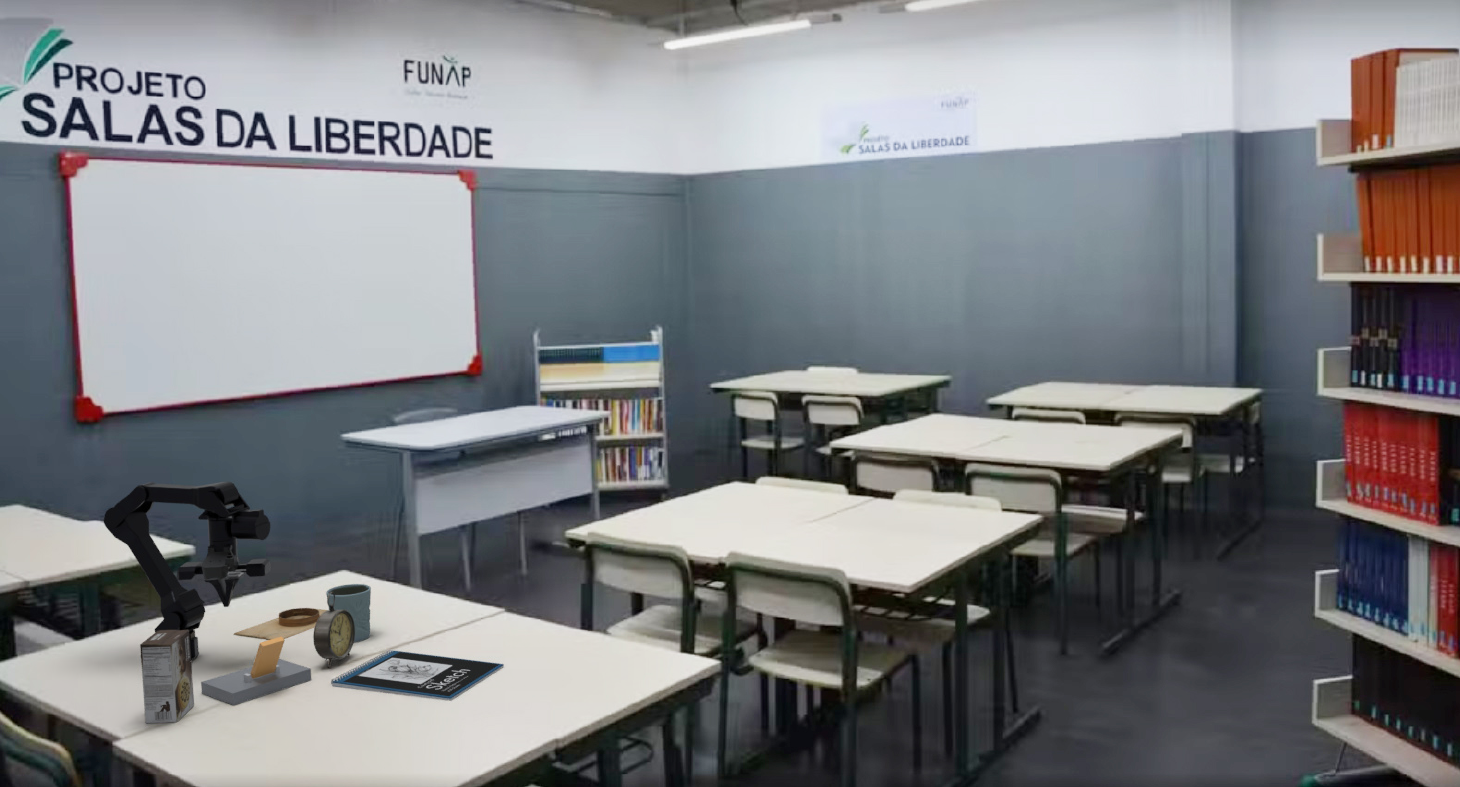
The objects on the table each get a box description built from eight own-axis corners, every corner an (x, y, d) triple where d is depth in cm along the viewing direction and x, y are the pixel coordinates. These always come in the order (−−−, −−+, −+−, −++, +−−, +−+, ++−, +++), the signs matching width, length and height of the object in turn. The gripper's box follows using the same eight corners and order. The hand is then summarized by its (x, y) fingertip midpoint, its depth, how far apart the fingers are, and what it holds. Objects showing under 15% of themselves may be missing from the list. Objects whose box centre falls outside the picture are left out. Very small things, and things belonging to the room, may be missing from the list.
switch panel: (201, 693, 240) (200, 675, 240) (279, 669, 255) (278, 651, 254) (233, 705, 233) (232, 686, 233) (311, 679, 248) (310, 661, 247)
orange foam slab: (249, 675, 241) (259, 642, 237) (271, 668, 245) (281, 636, 241) (252, 678, 240) (262, 646, 237) (274, 672, 244) (284, 640, 241)
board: (306, 609, 303) (305, 598, 303) (351, 615, 297) (351, 603, 297) (231, 637, 280) (231, 624, 280) (279, 644, 274) (278, 631, 274)
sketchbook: (450, 704, 234) (450, 694, 234) (328, 688, 244) (328, 679, 244) (503, 669, 255) (503, 660, 254) (389, 656, 264) (388, 647, 264)
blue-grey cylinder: (381, 635, 278) (379, 587, 277) (347, 646, 270) (345, 597, 269) (353, 629, 284) (351, 581, 283) (319, 640, 275) (317, 591, 274)
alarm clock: (332, 670, 253) (328, 599, 252) (310, 669, 254) (306, 598, 253) (357, 654, 264) (354, 586, 262) (336, 653, 265) (333, 585, 263)
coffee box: (162, 706, 233) (157, 629, 231) (195, 705, 233) (190, 628, 232) (143, 724, 224) (138, 643, 222) (177, 722, 224) (172, 642, 223)
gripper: (166, 548, 248) (170, 619, 249) (256, 545, 250) (260, 614, 252) (183, 537, 259) (187, 604, 260) (269, 534, 261) (273, 600, 263)
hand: (226, 606), depth 258 cm, fingers closed
